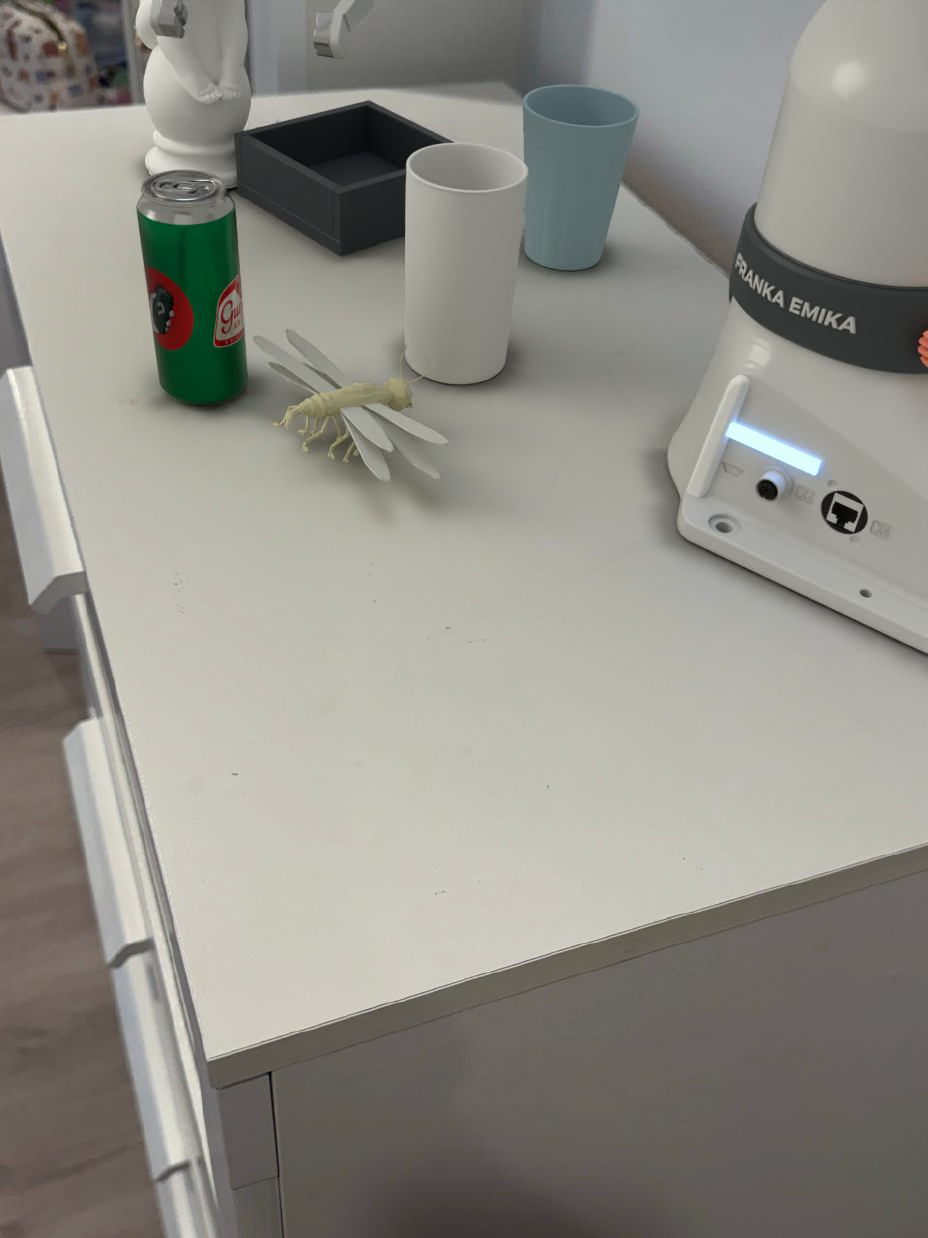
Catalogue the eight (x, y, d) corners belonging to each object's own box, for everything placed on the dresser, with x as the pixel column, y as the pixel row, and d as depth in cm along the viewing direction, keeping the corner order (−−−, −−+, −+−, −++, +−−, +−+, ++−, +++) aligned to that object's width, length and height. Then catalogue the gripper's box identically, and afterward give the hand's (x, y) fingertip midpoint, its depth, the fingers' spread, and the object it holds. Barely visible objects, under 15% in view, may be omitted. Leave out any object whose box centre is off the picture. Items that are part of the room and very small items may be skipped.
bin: (473, 212, 88) (478, 152, 85) (340, 256, 82) (339, 193, 79) (368, 156, 95) (369, 99, 92) (237, 193, 88) (233, 132, 85)
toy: (211, 412, 67) (204, 333, 63) (341, 366, 71) (340, 290, 68) (364, 547, 59) (364, 465, 56) (498, 486, 63) (506, 407, 60)
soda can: (241, 413, 67) (224, 209, 59) (152, 408, 67) (123, 202, 59) (254, 367, 71) (241, 169, 62) (170, 361, 70) (145, 162, 62)
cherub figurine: (246, 204, 87) (223, -145, 72) (79, 191, 87) (21, -161, 72) (273, 142, 96) (257, -180, 81) (121, 130, 96) (77, -194, 81)
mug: (515, 388, 71) (536, 193, 62) (403, 388, 70) (409, 190, 62) (497, 306, 78) (513, 122, 70) (395, 305, 77) (400, 119, 69)
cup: (577, 222, 88) (596, 77, 81) (637, 266, 84) (663, 116, 76) (490, 239, 85) (502, 91, 78) (547, 286, 81) (565, 132, 73)
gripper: (91, -258, 64) (45, -13, 64) (458, -219, 63) (414, 33, 62) (132, -175, 71) (91, 49, 70) (467, -138, 69) (427, 92, 68)
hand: (246, 42), depth 66 cm, fingers open, 8 cm apart
